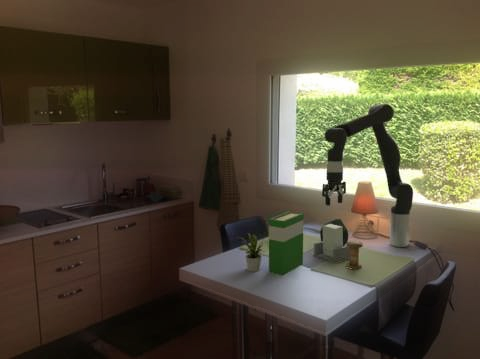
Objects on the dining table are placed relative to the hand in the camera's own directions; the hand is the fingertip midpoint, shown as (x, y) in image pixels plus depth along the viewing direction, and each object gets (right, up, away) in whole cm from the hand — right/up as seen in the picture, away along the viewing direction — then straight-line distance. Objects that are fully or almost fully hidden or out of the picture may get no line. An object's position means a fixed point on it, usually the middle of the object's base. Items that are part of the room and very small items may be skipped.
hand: (333, 204), depth 205 cm
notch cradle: (0, -26, +4) cm, 26 cm away
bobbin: (+7, -28, -10) cm, 30 cm away
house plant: (-40, -29, -11) cm, 50 cm away
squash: (+5, -23, +23) cm, 33 cm away
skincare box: (0, -25, +4) cm, 26 cm away
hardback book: (-24, -28, -10) cm, 39 cm away
